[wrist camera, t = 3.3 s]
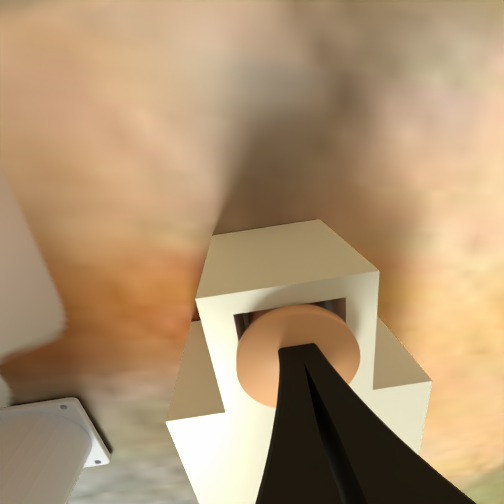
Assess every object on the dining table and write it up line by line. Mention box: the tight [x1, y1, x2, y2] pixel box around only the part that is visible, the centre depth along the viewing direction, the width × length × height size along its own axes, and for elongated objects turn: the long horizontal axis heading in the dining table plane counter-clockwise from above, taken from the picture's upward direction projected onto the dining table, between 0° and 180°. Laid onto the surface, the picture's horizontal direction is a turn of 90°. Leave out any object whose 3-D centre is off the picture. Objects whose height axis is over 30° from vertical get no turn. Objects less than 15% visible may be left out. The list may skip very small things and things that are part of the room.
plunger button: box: [236, 302, 360, 408], centre depth 11 cm, size 5×5×4 cm
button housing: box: [166, 219, 432, 504], centre depth 16 cm, size 12×21×7 cm, turn 8°
